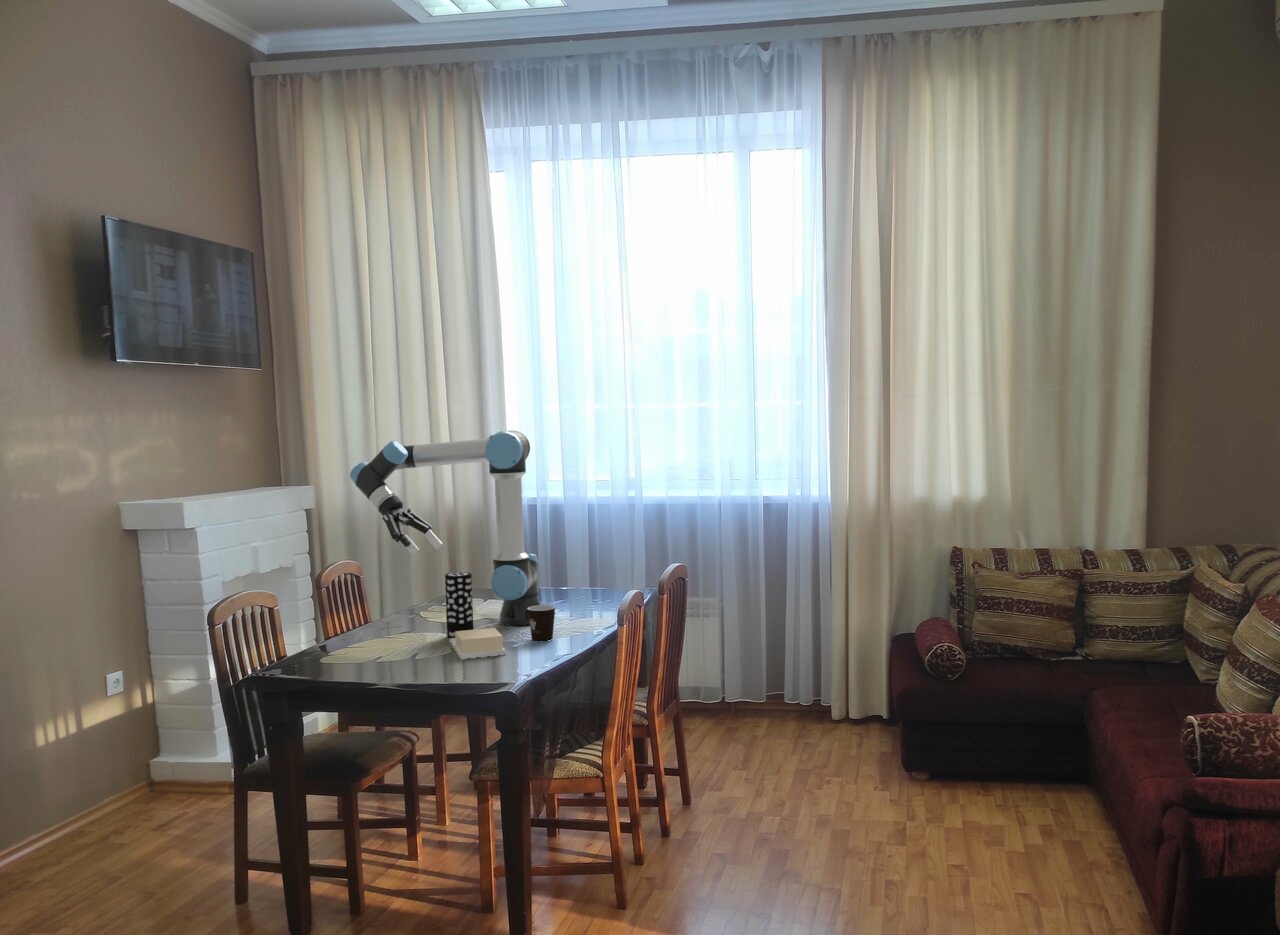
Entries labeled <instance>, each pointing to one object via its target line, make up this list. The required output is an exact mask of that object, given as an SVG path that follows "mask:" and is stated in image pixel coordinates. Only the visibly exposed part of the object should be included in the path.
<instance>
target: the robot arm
mask: <svg viewBox="0 0 1280 935" xmlns="http://www.w3.org/2000/svg"><path fill="white" fill-rule="evenodd" d="M530 452H531V445H530V441H529V439H528V438H527V436H526V435H525V434H523V433H522V432H521V431H519V430H503V431H498V432H496V433H495V434H491V435H489V436H488V437H487V438H480V439H468V440H457V441H456V440H455V441H447V442H435V443H434V442H433V443H424V444H423V443H422V444H415V445H402V444H401V443H399V442H398V441H395V440H391V441H390V442H388V443H387V444H386V445H384V446H383V448H382V449H381V450H380V452H378V454H376V455H375V457H373V459H372V460H371V461H370V462H369V463H368V462H367V461H362V462H359V463H358V464H356V465H355V466H354V467H352V469H351V471H350V472H349V477H350V480H351V481H352V482H353V483H354V485H355V486H356V487H357V488H358V490H359V491H360V492H361V493H362V494H363V495H364V496H365V497H366V498H367V499H368V501H369V502H371V504H372V506H374V507H375V508H376V509H377V510H378V512H379V513H380V515H381V516H382V520H383V522H384V523H385V525H386V527H387V530H388V532H389V535H390V536H391V539H392V540H394V541H395V542H396V543H399V542H400V543H401V544H403V546H404V547H405V548H406V549H407V550H408V551H409V553H410V554H411V555H412V556H415V555H417V554H418V552H419V551H420V548H419V547H418V546H417V545H416V543H415V542H414V541H413V540H412V539H411V538H410V537H409V535H408V534H405V532H404V526H403V525H405V526H407V527H409V526H410V527H411V528H414V529H416V530H417V531H418V532H421V533H423V534H424V535H423V536H424V537H425V538H426V539H427V540H428V541H429V543H430V544H431V545H432V546H433V547H434V548H435V550H439V549H440V547H441V546H442V545H443V542H442V541H441V540H440V539H439V537H437V536H436V535H435V533H434V532H433V531H432V529H433V525H432V524H430V522H427V521H426V520H425V519H423V517H421V516H419V515H418V514H417V513H415V512H414V511H413V510H412V509H411V508H407V510H405V509H404V508H403V506H404V503H403V501H402V499H401V498H399V496H397V495H396V493H395V492H394V491H393V490H392V488H390V486H389V485H388V484H387V483H386V480H387V479H388V478H389V477H390V476H391V475H392V474H393V473H394V472H395V471H397V470H403V469H413V468H414V469H415V468H422V467H425V468H426V467H434V466H447V465H458V464H468V463H469V464H471V463H472V464H473V463H482V462H488V467H489V475H490V476H491V477H493V479H494V493H495V494H494V496H495V497H494V498H495V521H496V524H495V525H496V542H497V544H496V545H497V546H496V548H497V552H496V554H495V555H494V556H493V557H492V563H493V565H492V566H493V572H492V573H491V577H490V586H491V589H492V592H494V594H495V596H497V597H498V598H500V599H502V600H503V601H502V606H501V609H500V613H499V623H500V624H501V623H503V624H502V625H504V624H508V625H507V626H513V625H522V626H528V625H527V624H529V622H528V620H527V618H526V611H527V608H528V607H531V606H537V605H542V602H541V601H540V597H539V596H540V595H539V570H538V569H539V568H538V567H539V566H538V565H539V561H538V556H537V555H536V554H535V553H527V552H526V551H525V539H524V537H525V536H524V514H523V513H524V511H523V509H524V508H523V490H522V486H523V485H522V477H523V476H525V474H526V470H527V468H526V467H527V466H526V464H527V463H526V461H527V459H528V457H529V456H530ZM527 616H528V613H527ZM528 618H529V617H528Z"/></svg>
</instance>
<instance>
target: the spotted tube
mask: <svg viewBox="0 0 1280 935" xmlns="http://www.w3.org/2000/svg"><path fill="white" fill-rule="evenodd" d="M472 578H473V577H472V572H469V571H457V572H456V571H455V572H447V573H445V574H444V588H445V590H444V592H445V614H446V638H447V637H448V638H447V639H449V638H455V631H465V630H474V607H473V604H474V603H473V583H472V581H473V580H472Z"/></svg>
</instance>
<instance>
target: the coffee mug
mask: <svg viewBox="0 0 1280 935" xmlns="http://www.w3.org/2000/svg"><path fill="white" fill-rule="evenodd" d="M527 613H528V616H527ZM555 614H556V606H555V605H550V604H549V605H548V604H541V605H537V606H531V607H528V608H527V611H526V618H527V620H528V622H529V624H530V625H529V629H530V635H531V641H532V642H534V641H538V642H537V643H540V642H539V641H548V640H551V639H553V637H554V627H555V626H554V625H555ZM528 617H529V618H528ZM553 640H554V639H553ZM551 641H552V640H551ZM548 642H549V641H548Z"/></svg>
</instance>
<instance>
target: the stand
mask: <svg viewBox="0 0 1280 935" xmlns="http://www.w3.org/2000/svg"><path fill="white" fill-rule="evenodd" d="M503 641H504V640H503V634H501V632H500V631H499V630H498V629H497V628H496V627H489V628H486V627H485V628H477V629H475V628H474V629H473V630H465V631H455V638H450V639H449V644H450V643H451V644H450V646H451V645H452V646H453V647H452V646H451V647H452V649H453V648H454V649H455V650H454V649H453V650H454V651H456V652H457V653H456V652H455V653H456V654H457V656H458V655H459V656H458V657H459V659H460V658H461V659H460V660H468V659H467V658H471V659H477V658H476V657H481V658H487V656H490V657H498V655H500V656H506V649H505V648H504V642H503Z"/></svg>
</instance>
